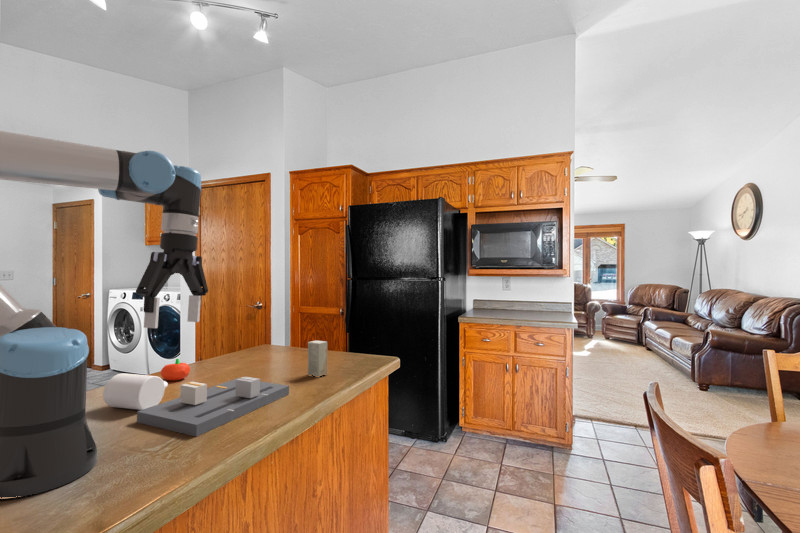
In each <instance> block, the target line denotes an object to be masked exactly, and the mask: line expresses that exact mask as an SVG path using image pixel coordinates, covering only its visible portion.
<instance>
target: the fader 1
mask: <svg viewBox="0 0 800 533" xmlns="http://www.w3.org/2000/svg"><path fill="white" fill-rule="evenodd" d="M207 388H208V384H207V383H203V382H202V383H201V382H197V381H190V382H186V383H183V384H180V391H179V393H180V394H179V396H180V402H182V403H187V404H192V405H197V404H200V403H202V402H205V401H207Z"/></svg>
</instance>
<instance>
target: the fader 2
mask: <svg viewBox="0 0 800 533" xmlns="http://www.w3.org/2000/svg"><path fill="white" fill-rule="evenodd" d="M238 378H239V379H237V378H235V379H236V393H235V396H240V397H246V398H253V397H255V396H257V395H260V381H261V378H258V377H250V376H242V377H238Z"/></svg>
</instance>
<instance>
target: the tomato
mask: <svg viewBox="0 0 800 533" xmlns="http://www.w3.org/2000/svg"><path fill="white" fill-rule="evenodd" d="M190 371H191V367H190V365H189V364H188V363H186V362H180V359H179V358H176V359H175V363H169V364H165V365H164V366H163V367H162V368H161V369H160V376H161V377H162V378H163V379H164V380H165V381H166V380H167V381H173V382H174V381H175V382H176V381H180V380H183V379H185V378H186V377H188V376H189V374H190V373H191V372H190Z"/></svg>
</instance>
